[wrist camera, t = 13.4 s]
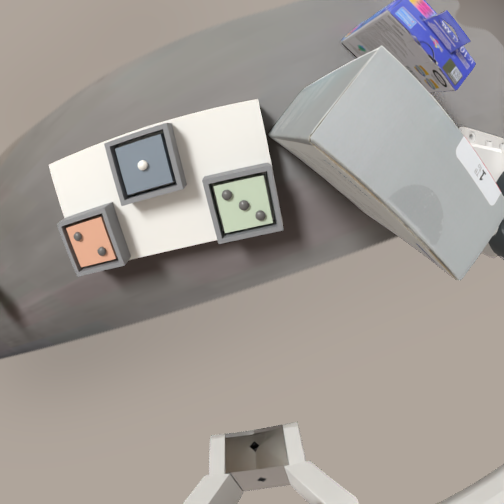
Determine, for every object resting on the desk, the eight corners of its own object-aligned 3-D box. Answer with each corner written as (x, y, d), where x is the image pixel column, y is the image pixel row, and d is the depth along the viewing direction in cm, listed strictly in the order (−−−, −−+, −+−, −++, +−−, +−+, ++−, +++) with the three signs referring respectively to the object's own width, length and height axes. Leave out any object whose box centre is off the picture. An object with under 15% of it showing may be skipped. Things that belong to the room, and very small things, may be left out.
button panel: (255, 101, 31) (260, 96, 26) (279, 217, 37) (287, 233, 32) (60, 161, 32) (37, 168, 27) (93, 260, 37) (76, 279, 32)
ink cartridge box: (417, 74, 30) (494, 64, 17) (395, 99, 31) (471, 95, 18) (364, 18, 27) (427, -22, 14) (339, 41, 28) (397, 3, 15)
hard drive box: (397, 166, 35) (512, 210, 16) (362, 212, 37) (458, 289, 19) (303, 84, 30) (384, 42, 12) (264, 135, 33) (304, 144, 14)
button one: (165, 133, 29) (159, 133, 27) (176, 178, 31) (172, 182, 29) (121, 147, 29) (113, 149, 27) (133, 191, 31) (126, 195, 29)
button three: (261, 172, 31) (263, 175, 29) (270, 217, 33) (273, 223, 31) (214, 182, 31) (213, 186, 29) (225, 227, 33) (224, 234, 31)
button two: (107, 211, 32) (99, 217, 29) (121, 251, 34) (115, 260, 31) (73, 222, 32) (64, 229, 30) (87, 260, 34) (80, 268, 32)
